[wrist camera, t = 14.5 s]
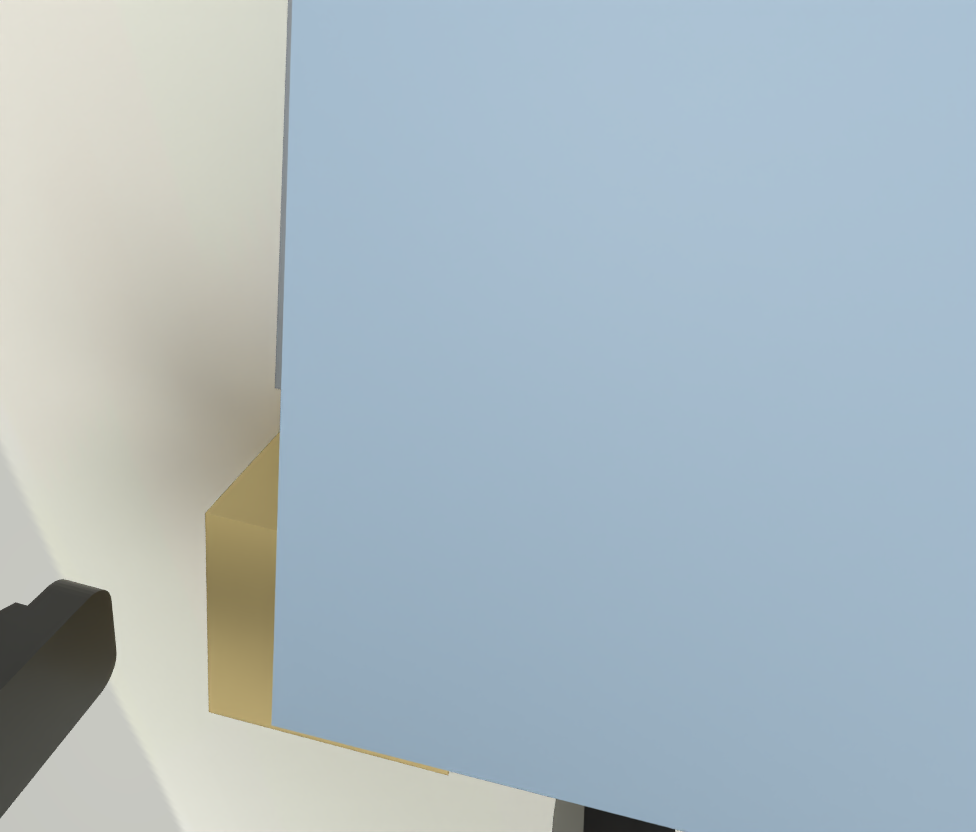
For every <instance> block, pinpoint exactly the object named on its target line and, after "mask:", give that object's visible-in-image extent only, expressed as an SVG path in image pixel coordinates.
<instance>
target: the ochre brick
mask: <svg viewBox="0 0 976 832" xmlns="http://www.w3.org/2000/svg"><path fill="white" fill-rule="evenodd" d="M279 445H280V432H279V433H278V434H277V435H276V436H275V437H274V438H273V439H272V441H271V442H270V443H269V444H268V445H267V446H266V447H265V448H264V449H263V450H262V451H261V453H260V454H259V455H258V456H257V457H256V458H255V459H254V460H253V461H252V462H251V464H250V465H249V466H248V467H247V468H246V469H245V470H244V471H243V472H242V473H241V475H240V476H239V477H238V478H237V479H236V480H235V481H234V482H233V483H232V484H231V485H230V487H229V488H228V489H227V490H226V491H225V492H224V493H223V494H222V495H221V496H220V498H219V499H218V500H217V501H216V502H215V503H214V504H213V505H212V506H211V507H210V508H209V510H208V511H207V512H206V513H205V526H206V582H207V639H208V695H209V712H211V713H214V714H218V715H222V716H226V717H229V718H233V719H237V720H241V721H245V722H248V723H252V724H256V725H260V726H263V727H267V728H271V729H275V730H279V731H282V732H286V733H290V734H294V735H298V736H301V737H305V738H309V739H313V740H316V741H320V742H324V743H328V744H332V745H335V746H339V747H343V748H347V749H350V750H354V751H358V752H362V753H366V754H369V755H373V756H377V757H381V758H384V759H388V760H392V761H396V762H400V763H403V764H407V765H411V766H415V767H418V768H422V769H426V770H430V771H434V772H437V773H441V774H445V775H448V774H449V771H447V770H443V769H439V768H435V767H431V766H427V765H424V764H420V763H416V762H412V761H408V760H404V759H400V758H396V757H392V756H388V755H385V754H381V753H377V752H373V751H369V750H365V749H361V748H357V747H353V746H350V745H346V744H342V743H338V742H334V741H330V740H326V739H322V738H318V737H315V736H311V735H307V734H303V733H299V732H295V731H291V730H287V729H283V728H280V727H276V726H272V725H271V723H272V688H273V654H274V619H275V584H276V549H277V514H278V479H279Z"/></svg>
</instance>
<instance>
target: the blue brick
mask: <svg viewBox="0 0 976 832" xmlns="http://www.w3.org/2000/svg"><path fill="white" fill-rule="evenodd" d="M271 725H272V726H276V727H280V728H283V729H287V730H291V731H295V732H299V733H303V734H307V735H311V736H315V737H318V738H322V739H326V740H330V741H334V742H338V743H342V744H346V745H350V746H353V747H357V748H361V749H365V750H369V751H373V752H377V753H381V754H385V755H388V756H392V757H396V758H400V759H404V760H408V761H412V762H416V763H420V764H424V765H427V766H431V767H435V768H439V769H443V770H447V771H451V772H455V773H459V774H462V775H466V776H470V777H474V778H478V779H482V780H486V781H490V782H494V783H497V784H501V785H505V786H509V787H513V788H517V789H521V790H525V791H529V792H532V793H536V794H540V795H544V796H548V797H552V798H556V799H560V800H564V801H567V802H571V803H575V804H579V805H583V806H587V807H591V808H595V809H599V810H602V811H606V812H610V813H614V814H618V815H622V816H626V817H630V818H634V819H637V820H641V821H645V822H649V823H653V824H657V825H661V826H665V827H669V828H672V829H676V830H680V831H684V832H976V0H292V27H291V61H290V96H289V131H288V166H287V201H286V236H285V270H284V305H283V340H282V375H281V410H280V445H279V479H278V514H277V549H276V584H275V619H274V654H273V688H272V723H271Z"/></svg>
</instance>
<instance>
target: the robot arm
mask: <svg viewBox="0 0 976 832" xmlns="http://www.w3.org/2000/svg"><path fill="white" fill-rule="evenodd" d="M115 662H116V643H115V632H114V622H113V612H112V601H111V596H110V594H109V592H108V591H106V590H102V589H99V588H95V587H91V586H87V585H84V584H80V583H76V582H72V581H69V580H64V579H61V580H58V581H55V582H54V583H52V584H51V585H49V586H48V587H47V588H46V589H45V590H44V591H43V592H42V593H41V594H40V595H39V596H38V597H37V598H35V599H34V600H33V601H32V602H31V603H30V604H29V605H28V606H26V605H23V604H19V603H14V604H12V605H10V606H8V607H6V608H4V609H2V610H1V611H0V818H1V817H2V816H3V814H4V813H5V812H6V811H7V809H8V808H9V807H10V806H11V804H12V803H13V802H14V800H15V799H16V798H17V797H18V796H19V794H20V793H21V792H22V791H23V789H24V788H25V787H26V786H27V784H28V783H29V782H30V781H31V779H32V778H33V777H34V776H35V774H36V773H37V772H38V771H39V769H40V768H41V767H42V765H43V764H44V763H45V762H46V761H47V759H48V758H49V757H50V756H51V754H52V753H53V752H54V751H55V750H56V748H57V747H58V746H59V744H60V743H61V742H62V741H63V740H64V738H65V737H66V736H67V735H68V733H69V732H70V731H71V730H72V728H73V727H74V726H75V724H76V723H77V722H78V721H79V720H80V718H81V717H82V716H83V715H84V713H85V712H86V711H87V710H88V708H89V707H90V706H91V705H92V703H93V702H94V701H95V700H96V698H97V697H98V696H99V695H100V693H101V692H102V691H103V689H104V688H105V686H106V684H107V683H108V681H109V679H110V677H111V674H112V672H113V669H114V666H115ZM552 832H675V829H672V828H669V827H665V826H661V825H657V824H653V823H649V822H645V821H641V820H637V819H634V818H630V817H626V816H622V815H618V814H614V813H610V812H606V811H602V810H599V809H595V808H591V807H587V806H583V805H579V804H575V803H571V802H567V801H564V800H560V799H556V802H555V808H554V816H553V828H552Z"/></svg>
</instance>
